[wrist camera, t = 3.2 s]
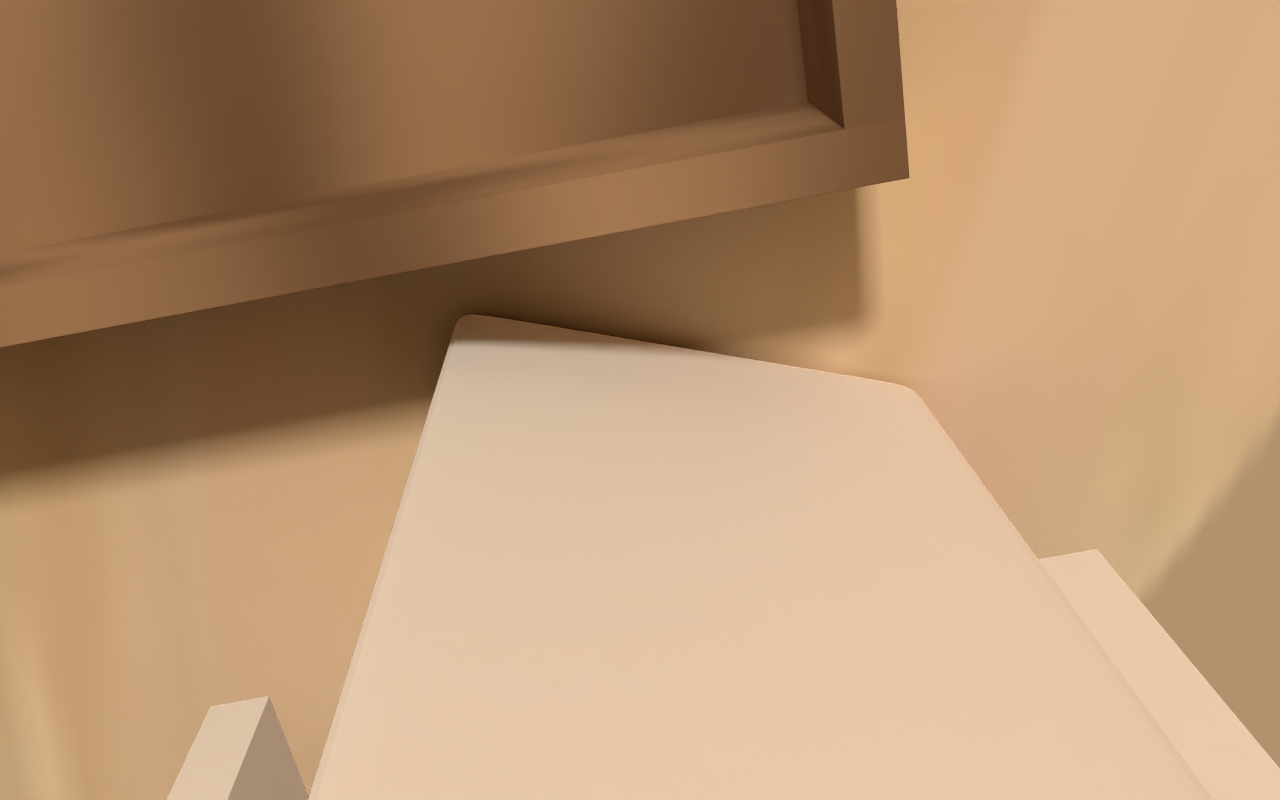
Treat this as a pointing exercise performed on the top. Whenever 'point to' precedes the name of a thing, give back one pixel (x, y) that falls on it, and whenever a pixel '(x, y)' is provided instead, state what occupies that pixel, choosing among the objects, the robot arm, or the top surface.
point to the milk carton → (714, 599)
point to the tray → (403, 136)
